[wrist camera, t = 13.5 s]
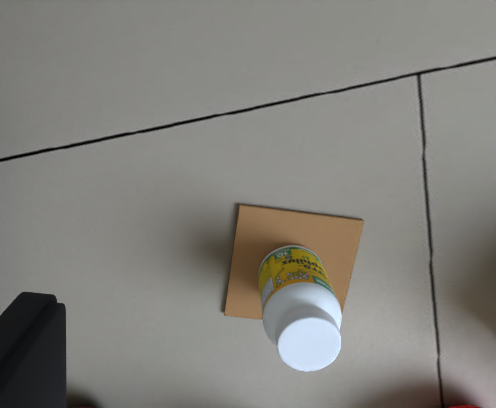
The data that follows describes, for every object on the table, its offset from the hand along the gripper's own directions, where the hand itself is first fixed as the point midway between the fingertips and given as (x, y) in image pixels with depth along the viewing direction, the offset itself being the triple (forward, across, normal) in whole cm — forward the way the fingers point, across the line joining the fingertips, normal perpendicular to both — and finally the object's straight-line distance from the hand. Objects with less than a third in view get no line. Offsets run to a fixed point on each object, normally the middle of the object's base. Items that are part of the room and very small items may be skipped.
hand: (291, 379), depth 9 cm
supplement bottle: (+24, -5, +10) cm, 27 cm away
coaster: (+25, -5, +10) cm, 27 cm away
